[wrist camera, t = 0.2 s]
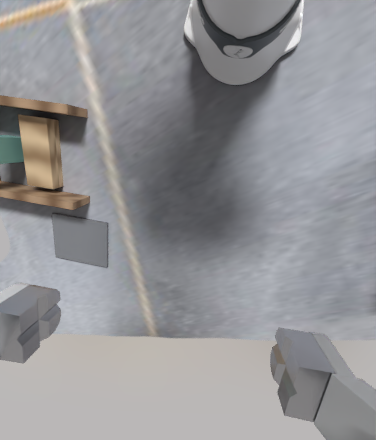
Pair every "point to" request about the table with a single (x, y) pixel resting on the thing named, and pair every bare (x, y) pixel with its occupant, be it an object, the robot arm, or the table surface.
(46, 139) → the oak offcut upper
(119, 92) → the table surface
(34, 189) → the walnut rack
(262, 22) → the robot arm
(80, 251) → the charcoal mat
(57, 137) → the oak offcut lower
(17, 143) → the teal block
